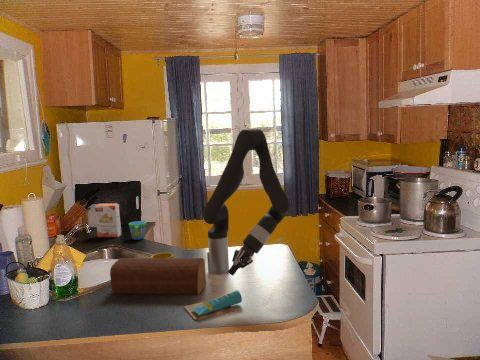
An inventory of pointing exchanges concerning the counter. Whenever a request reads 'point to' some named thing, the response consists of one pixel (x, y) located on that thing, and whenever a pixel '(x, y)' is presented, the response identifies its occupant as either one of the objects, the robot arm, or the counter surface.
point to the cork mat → (198, 317)
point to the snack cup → (137, 229)
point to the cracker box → (108, 220)
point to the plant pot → (163, 256)
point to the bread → (158, 276)
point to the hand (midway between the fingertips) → (230, 273)
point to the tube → (218, 303)
